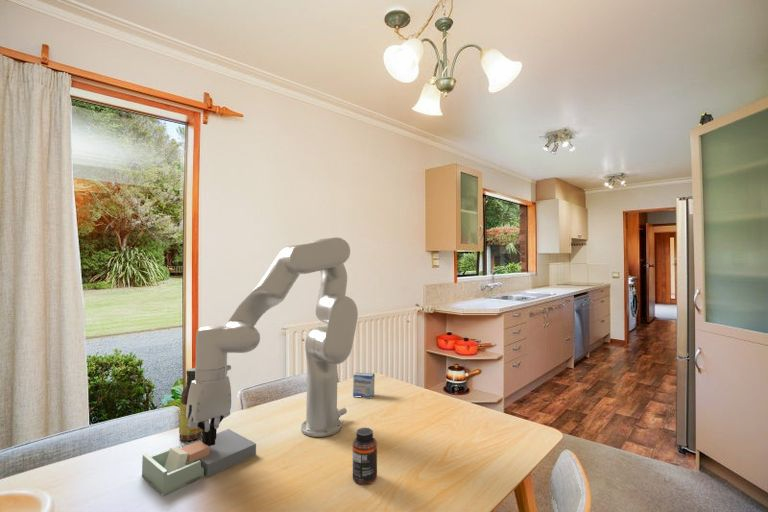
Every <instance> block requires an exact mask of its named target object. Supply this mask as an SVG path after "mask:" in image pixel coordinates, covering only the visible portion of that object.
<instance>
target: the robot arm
mask: <svg viewBox="0 0 768 512" xmlns="http://www.w3.org/2000/svg"><path fill="white" fill-rule="evenodd" d="M350 255H351V247H350V244H349V243H348V242H347V241H346V240H345V239H344V238H341V237H326V238H320V239H318V240H316V241H314V242H309V243H303V244H294V245H288V246H286V247H284V248H283V249H281V251H279V252H278V255H277V256H276V257H275V259H274V260H273V262H272V264H271V265H270V267H269V268H268V270H267V271H266V272H265V274H264V276H263V277H262V278H261V280H260V281H259V282H258V284H257V285H256V287H254V289H253V290H251V292H250V293H249V294H248V295H247V296H246V297H245V298H244V299H243V300H242V302H241V303H239V305H238V306H237V308H236V309H235V311H234V312H233V313H232V314H231V316H230V318H229V319H228V321H227V322H226V324H225V326H224V325H220V324H219V325H216V324H215V325H207V326H206V325H205V326H201V327H200V328H198V329H197V330H196V336H195V337H196V338H195V341H196V342H195V366H194V368H195V380H193V381H192V382H191V385H190V389H189V394H188V400H187V409H186V417H187V418H188V419H189V421H188V427H190V428H197V427H199V428H200V429H202V435H201V439H202V442H203V443H204V444H206V445H208V446H211V445H215V439H216V434H217V433H218V431H217V429H219V427H220V424H221V422H222V421H223V420H224V419H226V418H227V417H229V416H230V415H231V409H232V386H231V381H230V376H229V375H228V371H231V370H232V366H231V365H230V364H228V354H229V353H233V354H244V353H250V352H252V351H253V350H255V349H256V348H257V347H258V345H259V343H260V341H261V334H260V332H259V330H258V329H257V328H256V327H255V325H257V322H258V321H259V320H260V318H261V317H263V315H264V314H265V313H266V312H268V311H269V310H271V309H272V308H274V307H276V306H277V305H279V304H280V303H282V302H283V301H284V300H285V299H286V297H287V295H288V293H289V292H290V290H291V289H292V287H293V285H294V284H295V283H296V281H297V280H298V278H299V276H300V275H307V274H310V273H316V272H320V278H321V279H320V287H319V290H318V296H317V300H316V306H315V316H316V318H317V319H318V320H319V321H320V322H322V323H325V324H327V325H326V326H327V327H325V326H318V327H314V328H312V329H311V330H310V331H309V332H308V334H307V335H306V338H305V342H304V348H305V350H304V351H305V357H306V369H307V370H306V373H307V374H306V376H307V377H306V378H307V379H306V410H305V411H306V418H305V419H306V420H304V421H302V423H301V426H300V429H301V430H300V431H301V432H302V434H304V435H306V436H309V437H312V438H314V437H315V438H316V437H317V438H318V437H319V438H321V437H322V438H323V437H329V436H332V435H335V434H337V433H338V432H339V431H341V429H342V421H341V420H340V418H341V416H343V415H345V414H347V412H348V411H347V408H346V407H341V408H340V409H339V408H338V374H339V373H338V365H339V364H342V363H344V362H345V361H346V360H347V359H348V358H349V356H350V355H351V352H352V348H353V345H354V339H355V335H356V329H357V323H358V315H359V314H358V306H357V304H356V302H355V301H354V300H353V298H351V297H349V296H347V295H346V293H347V285H348V273H347V269H346V267H345V265H344V264H345V263H346V262H347V261H348V259H350Z"/></svg>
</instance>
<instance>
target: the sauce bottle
mask: <svg viewBox="0 0 768 512" xmlns="http://www.w3.org/2000/svg"><path fill="white" fill-rule="evenodd" d="M185 372H186V382H185V383H186V384H185V386H184V389H183V390H182V392H181V399H180V400H181V401H180V406H179V407H180V409H179V411H180V412H179V428H178V434H179V435H178V436H179V440H180V441H182V442H188V441H189V442H190V441H194V440H196V439H199V438H200V437H202V429H200V428H199V427H197V428H190V427H188V421H189V419H188V418H187V417H186V409H187V400H188V394H189V389H190V385H191V382H192V381H193V380H195V367H191V368H188V369H187V370H186V371H185Z"/></svg>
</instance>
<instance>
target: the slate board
mask: <svg viewBox="0 0 768 512" xmlns="http://www.w3.org/2000/svg"><path fill="white" fill-rule="evenodd" d="M198 441H201V442H202V438H201V439H198V440H196V441H193V442H190V443H187V444H184V445H182V446H181V448H183V447H185V446H188V445H190V444H193V443H196V442H198ZM202 443H203V442H202ZM256 455H257V443H256V442H255V441H252V440H250V439H248V438H246V437H245V436H243V435H241V434H239V433H237V432H235V431H233V430H231V429H230V428H228V429H225V430H222V431H219V432H216V439H215V445H211V446H210V455H208V456H205V457H203V458H201V459H198V460H200V461H201V466H202V467H203V468H204V476H206V477H207V478H210V477H211V476H213V475H216V474H218V473H220V472H222V471H225V470H227V469H229V468H231V467H233V466H235V465H237V464H240V463H241V462H244V461H247V460H248V459H250V458H252V457H254V456H256ZM198 460H196V461H198ZM196 461H195V462H196Z"/></svg>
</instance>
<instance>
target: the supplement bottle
mask: <svg viewBox="0 0 768 512" xmlns="http://www.w3.org/2000/svg"><path fill="white" fill-rule="evenodd" d="M355 435H356V437H355V438H354V440H353V441H352V480H353V481H354V482H355V483H356V484H358V485H364V486H365V485H369V484H372V483H374V482H375V481H376V480H377V477H378V443H377V439H375V438H374V430H373V429H372V428H370V427H360V428H359V429H357V430H356V434H355Z"/></svg>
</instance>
